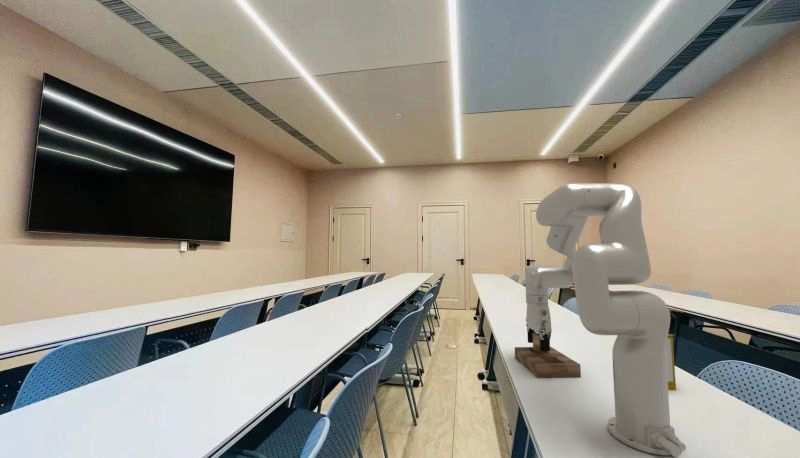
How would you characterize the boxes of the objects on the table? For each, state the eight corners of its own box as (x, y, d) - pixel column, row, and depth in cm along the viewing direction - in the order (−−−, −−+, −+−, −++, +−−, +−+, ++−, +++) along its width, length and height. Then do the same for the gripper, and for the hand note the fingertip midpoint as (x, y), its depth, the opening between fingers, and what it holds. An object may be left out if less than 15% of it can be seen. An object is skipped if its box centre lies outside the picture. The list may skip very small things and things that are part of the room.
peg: (548, 364, 108) (547, 336, 109) (536, 364, 108) (535, 336, 109) (542, 360, 113) (541, 332, 113) (531, 360, 113) (530, 332, 113)
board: (580, 377, 98) (580, 364, 98) (537, 378, 97) (537, 365, 97) (551, 357, 116) (550, 346, 116) (514, 358, 115) (514, 347, 115)
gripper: (559, 303, 104) (561, 354, 103) (535, 295, 121) (537, 339, 120) (538, 303, 104) (539, 355, 103) (517, 295, 121) (518, 339, 120)
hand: (538, 346), depth 111 cm, fingers open, 9 cm apart
